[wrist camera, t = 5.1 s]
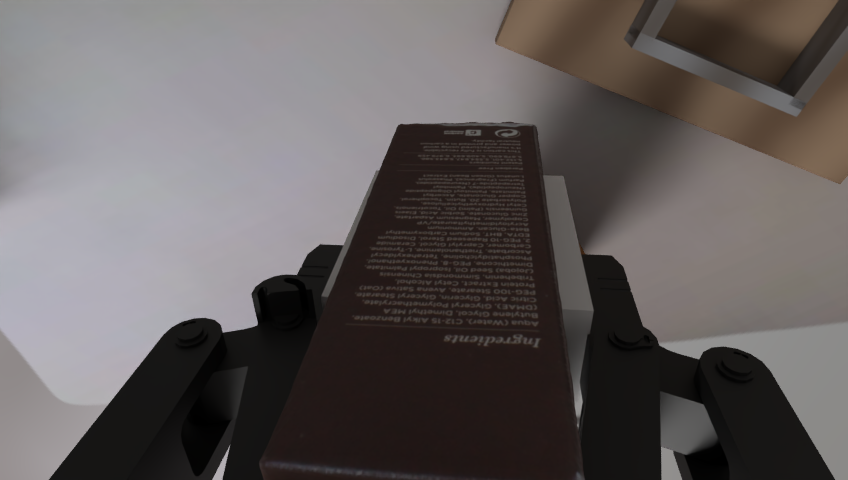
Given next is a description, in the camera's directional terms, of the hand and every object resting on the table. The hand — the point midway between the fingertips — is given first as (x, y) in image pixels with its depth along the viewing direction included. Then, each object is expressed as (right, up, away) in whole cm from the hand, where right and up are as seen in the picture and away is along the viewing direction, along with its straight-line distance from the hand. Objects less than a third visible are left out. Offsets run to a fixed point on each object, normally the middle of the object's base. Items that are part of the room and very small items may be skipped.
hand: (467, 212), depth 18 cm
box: (0, 0, 0) cm, 1 cm away
